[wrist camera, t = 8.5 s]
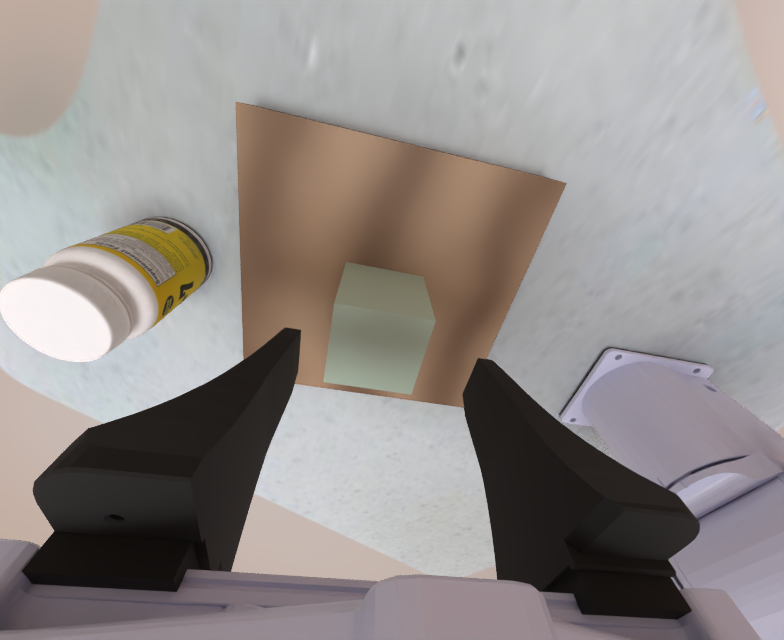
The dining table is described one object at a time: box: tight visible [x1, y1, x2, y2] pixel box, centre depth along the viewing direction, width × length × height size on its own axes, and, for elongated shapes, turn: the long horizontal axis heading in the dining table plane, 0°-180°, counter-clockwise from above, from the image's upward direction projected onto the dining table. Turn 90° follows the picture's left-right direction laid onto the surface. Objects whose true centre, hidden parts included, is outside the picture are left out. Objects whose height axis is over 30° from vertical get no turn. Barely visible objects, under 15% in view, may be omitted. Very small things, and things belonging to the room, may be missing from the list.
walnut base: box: [236, 102, 567, 408], centre depth 20 cm, size 16×16×2 cm
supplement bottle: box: [0, 217, 211, 362], centre depth 16 cm, size 5×5×8 cm
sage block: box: [323, 262, 436, 395], centre depth 17 cm, size 4×4×5 cm
